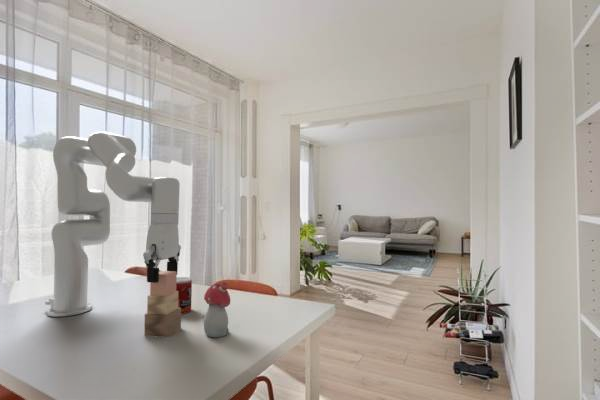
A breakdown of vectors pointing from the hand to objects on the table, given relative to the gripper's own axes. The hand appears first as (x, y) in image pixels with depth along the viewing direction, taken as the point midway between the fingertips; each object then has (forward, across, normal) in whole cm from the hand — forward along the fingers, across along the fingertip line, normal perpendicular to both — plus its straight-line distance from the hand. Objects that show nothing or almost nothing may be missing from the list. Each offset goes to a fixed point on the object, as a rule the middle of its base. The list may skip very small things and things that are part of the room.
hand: (162, 278), depth 92 cm
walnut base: (+15, 0, +1) cm, 15 cm away
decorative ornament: (+15, -1, +17) cm, 23 cm away
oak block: (+9, 0, +1) cm, 9 cm away
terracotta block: (+4, 0, 0) cm, 4 cm away
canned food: (+16, -18, -4) cm, 24 cm away
